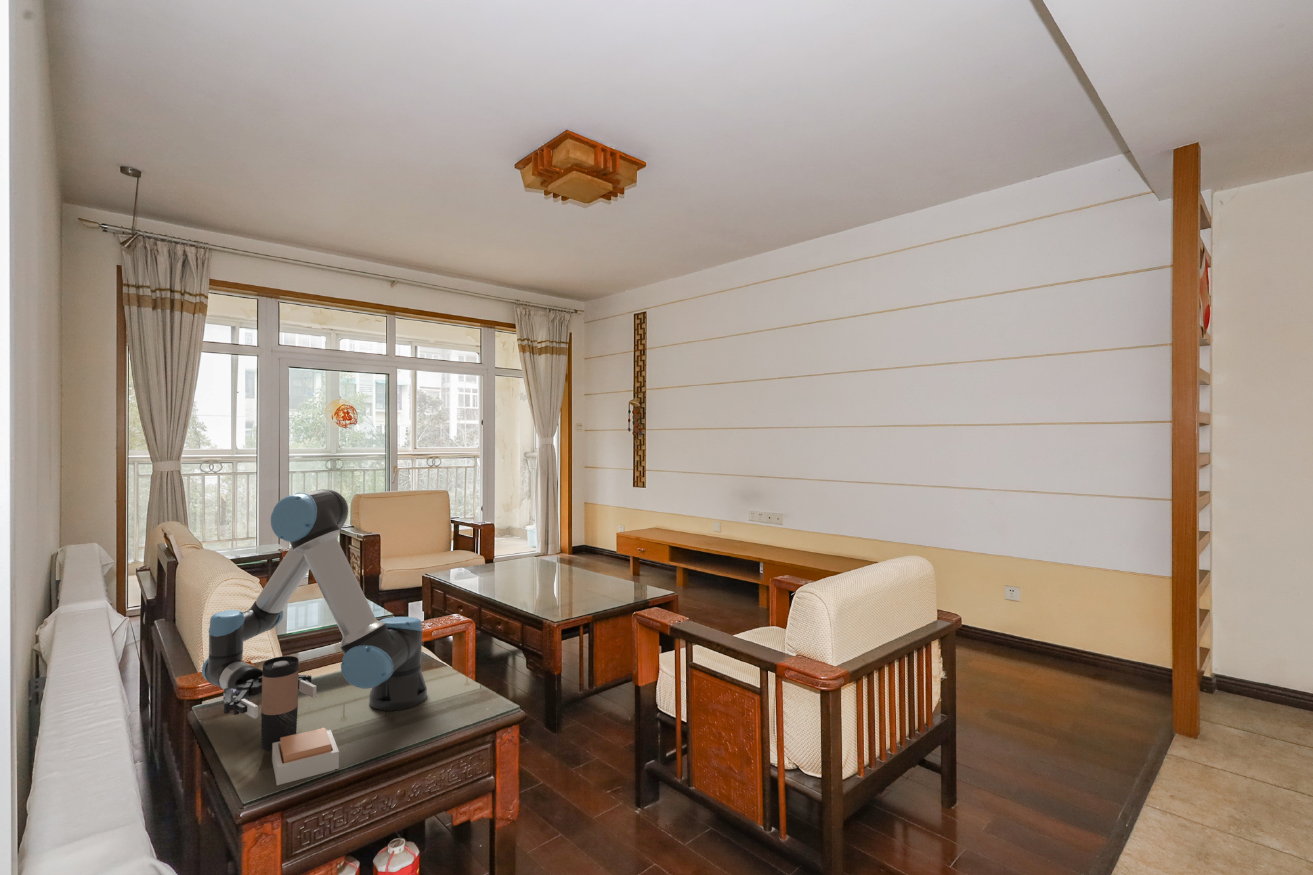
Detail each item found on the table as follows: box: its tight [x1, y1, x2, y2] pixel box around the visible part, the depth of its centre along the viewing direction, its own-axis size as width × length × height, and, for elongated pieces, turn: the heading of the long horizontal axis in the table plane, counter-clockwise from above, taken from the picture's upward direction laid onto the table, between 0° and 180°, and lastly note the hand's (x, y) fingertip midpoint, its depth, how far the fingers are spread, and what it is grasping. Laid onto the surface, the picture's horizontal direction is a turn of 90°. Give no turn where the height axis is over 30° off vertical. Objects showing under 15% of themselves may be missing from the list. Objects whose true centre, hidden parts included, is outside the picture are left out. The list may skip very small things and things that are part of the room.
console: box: [271, 729, 340, 786], centre depth 142 cm, size 12×12×4 cm
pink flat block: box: [280, 727, 331, 763], centre depth 142 cm, size 9×9×3 cm
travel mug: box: [260, 655, 299, 751], centre depth 150 cm, size 8×8×20 cm
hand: (286, 701), depth 149 cm, fingers open, 13 cm apart
